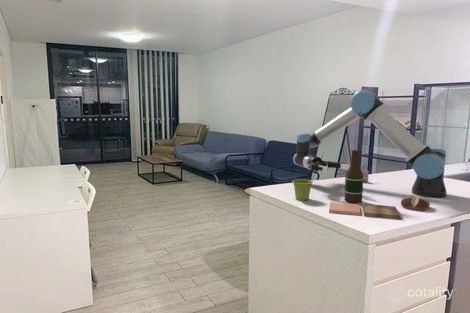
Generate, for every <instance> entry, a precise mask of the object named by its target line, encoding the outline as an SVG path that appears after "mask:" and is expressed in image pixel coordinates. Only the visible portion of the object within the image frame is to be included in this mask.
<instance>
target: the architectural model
mask: <svg viewBox="0 0 470 313" xmlns="http://www.w3.org/2000/svg"><path fill="white" fill-rule="evenodd" d="M361 171H362V173H363V183H366V184H368V183H369V170H365V169H361Z"/></svg>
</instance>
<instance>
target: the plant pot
mask: <svg viewBox="0 0 470 313" xmlns="http://www.w3.org/2000/svg"><path fill="white" fill-rule="evenodd" d="M292 183H293V186H294V195H295V196H294V197H295V199H296V200H297V201H298V200H299V201H303V202H304V201H308V200H309V198H310V192H311V188H312V186H313V183H314V181H313V180H310V179H304V178H303V179H301V178H300V179H298V178H297V179H293V180H292Z"/></svg>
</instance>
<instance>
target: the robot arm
mask: <svg viewBox="0 0 470 313" xmlns="http://www.w3.org/2000/svg"><path fill="white" fill-rule="evenodd" d="M349 101H350V103H349V105H350V107H349V108H348V109H346V110H345V111H343V112H341V113H340V114H339V115H337V116H336V117H335V118H333V119H332V120H330V121H329V122H327V123H326V124H324V125H323V126H321V127H320V128H318V129H317V130H315V131H314V132H312V133H309V132H300V133H297V136H296V153H295V154H294V155H293V157H292V161H293V164H294V165H296V166H298V167H302V168H305V169H308V170H309V171H315V173H317V172H318V171H319V172H322V173H327V174H328V173H329V169H331V168H332V169H340V170H344V171H347V170H348V169H349V168H350V164H346V163H345V162H343V161H341V162H338V161H336V162H335V161H329V160H328V161H327V160H323V159H322V158H321V157H319V156H316V155H311V149H314V148H317V147H319V145H321V144H322V143H323V142H325V141H326V140H327V139H329V138H330V137H333V136H334V135H336V134H337V133H339V132H340V131H342V130H343V129H344V128H346V127H348V126H349V125H351V124H352V123H354V122H356V121H357V120H359V119H363V120H364V121H365V122H371V124H373V126H375V127H376V129H378V130H379V131H380V132H381V133H382V134H383V135H384V136H385V137H386V138H387V139H388V140H389V141H390V142H391V143H392V144H393V145H394V146H395V147H396V148H397V149H398V150H399V151H400V152H401V153H402V154H403V155H404V156H405V157H406V159H405V160H406V163H407V164H408V165H409V166H410V167H411V168H412V169H413V171H414V173H415V174H416V178H415V180H414V182H413V184H412V188H411V193H413V195H414V194H415V195H418V196H422V197H428V198H444V197H447V188H446V185H445V181H444V176H445V165H446V157H447V154H446V150H445V149H441V148H431V147H430V146H429V145H427V144H422V143H421V142H419V141H418V140H417V139H416V138H415V136H413V135H412V134H411V133H410V132H409V131H408V130H407V129H406V128H405V127H404V126H403V125H402V124H401V123H400V122H399V121H398V120H396V119H395V117H393V116H392V115H391V114H390V113H389V112H388V111H387V110H386V109H385V103H384V102H383V101H382V100H381V99H380V97H379V95H378V94H377V93H375V91H370V90H367V89H361V90H358V91H356V92H355V93H354V94H353V95H352V96H351V98H350V100H349Z"/></svg>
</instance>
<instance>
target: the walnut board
mask: <svg viewBox="0 0 470 313" xmlns="http://www.w3.org/2000/svg"><path fill="white" fill-rule="evenodd" d="M361 208H362V212H363V216H364V217H370V218H381V219H393V220H401V214H400V212H399V211H398V209H397V207H396V205H395V206H393V205H381V204H373V203H372V204H370V203H362V206H361Z"/></svg>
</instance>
